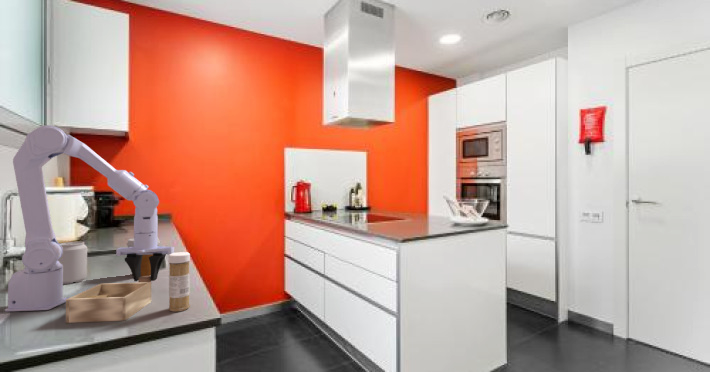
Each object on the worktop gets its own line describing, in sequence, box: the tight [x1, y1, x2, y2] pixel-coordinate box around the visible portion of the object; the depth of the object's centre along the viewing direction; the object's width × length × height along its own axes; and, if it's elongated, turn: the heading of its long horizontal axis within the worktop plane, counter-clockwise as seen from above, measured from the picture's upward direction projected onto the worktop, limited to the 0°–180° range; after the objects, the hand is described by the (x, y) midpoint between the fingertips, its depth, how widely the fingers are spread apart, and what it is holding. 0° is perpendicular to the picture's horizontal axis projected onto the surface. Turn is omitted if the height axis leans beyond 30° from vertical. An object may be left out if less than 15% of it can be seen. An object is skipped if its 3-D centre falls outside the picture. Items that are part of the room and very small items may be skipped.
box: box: [65, 281, 152, 324], centre depth 79 cm, size 12×12×5 cm
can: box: [58, 241, 88, 285], centre depth 104 cm, size 8×8×12 cm
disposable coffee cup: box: [126, 237, 161, 277], centre depth 112 cm, size 10×10×12 cm
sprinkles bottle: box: [168, 251, 191, 313], centre depth 81 cm, size 5×5×14 cm
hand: (145, 280), depth 95 cm, fingers open, 4 cm apart
